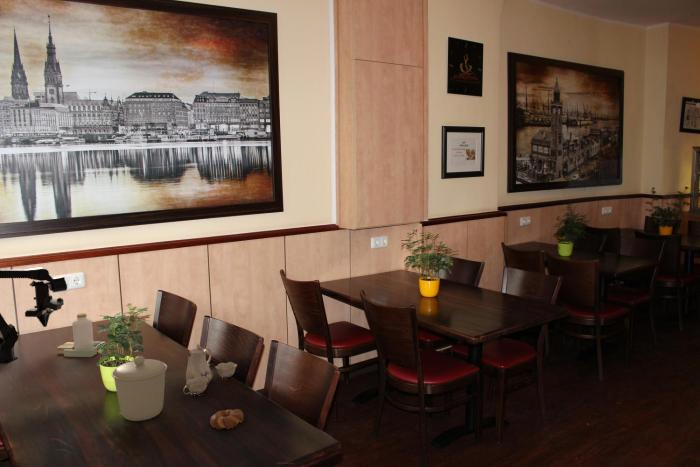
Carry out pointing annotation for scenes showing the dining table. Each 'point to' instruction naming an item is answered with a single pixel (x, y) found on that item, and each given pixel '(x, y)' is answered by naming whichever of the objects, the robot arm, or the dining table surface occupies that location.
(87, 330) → the potion bottle
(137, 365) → the canister
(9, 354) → the robot arm
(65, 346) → the oak block
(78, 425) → the dining table surface
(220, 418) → the braided ring pastry
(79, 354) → the tray frame
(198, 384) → the chinaware
